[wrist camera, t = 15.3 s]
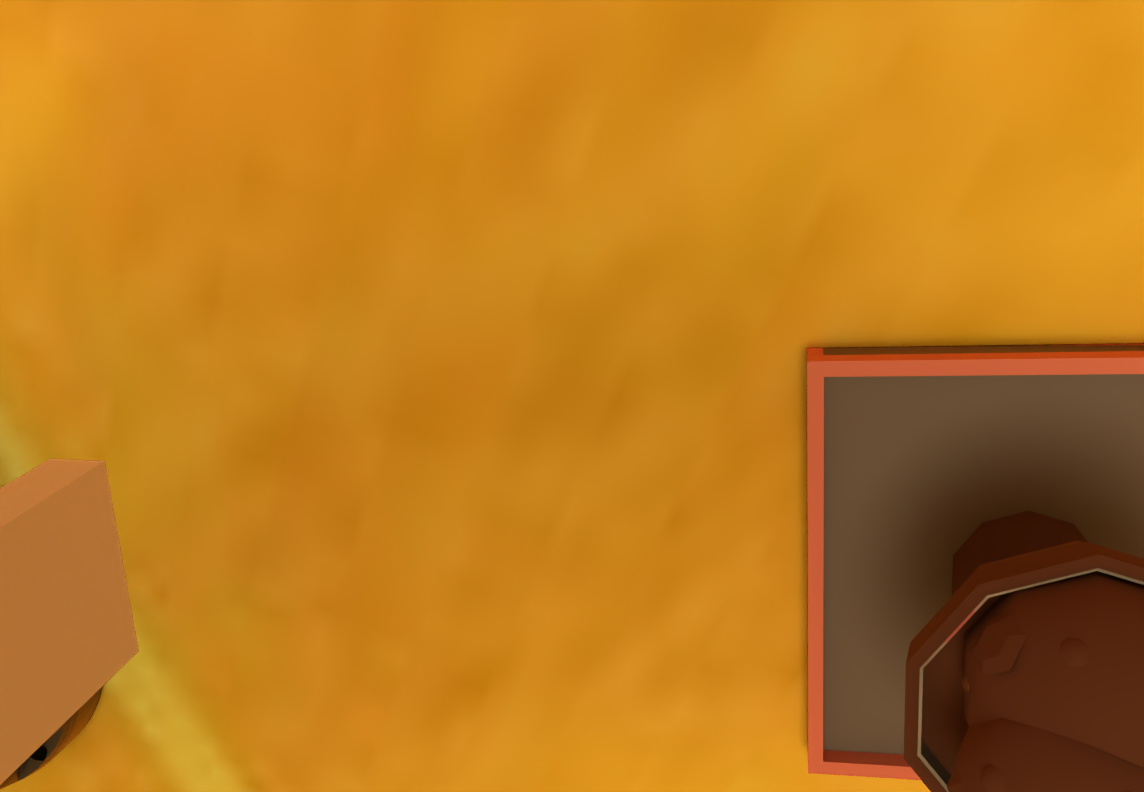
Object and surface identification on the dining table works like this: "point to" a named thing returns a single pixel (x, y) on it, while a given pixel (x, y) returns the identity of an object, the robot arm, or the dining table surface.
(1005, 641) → the ice cream bowl
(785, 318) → the dining table surface
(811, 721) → the serving tray
